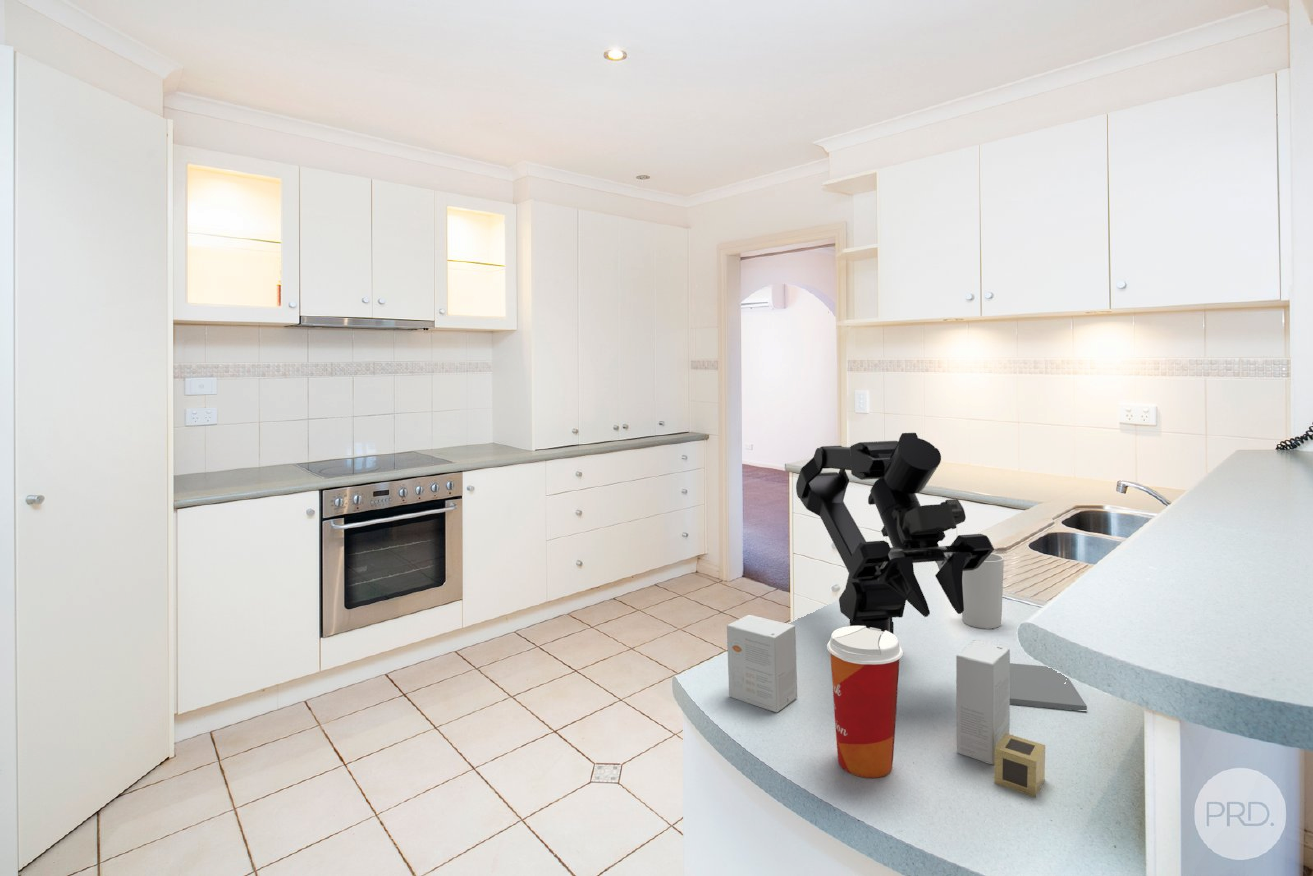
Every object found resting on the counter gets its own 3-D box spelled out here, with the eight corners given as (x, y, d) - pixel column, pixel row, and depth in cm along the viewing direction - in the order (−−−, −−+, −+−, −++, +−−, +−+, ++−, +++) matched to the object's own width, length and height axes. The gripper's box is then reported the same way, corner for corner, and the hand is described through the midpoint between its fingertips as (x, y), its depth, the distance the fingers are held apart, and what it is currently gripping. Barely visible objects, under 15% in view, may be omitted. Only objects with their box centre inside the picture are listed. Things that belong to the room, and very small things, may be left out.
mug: (1006, 631, 115) (1007, 562, 114) (963, 628, 117) (963, 560, 116) (996, 611, 125) (996, 548, 124) (956, 608, 127) (957, 546, 126)
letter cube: (1035, 798, 70) (1036, 761, 70) (994, 783, 73) (994, 748, 73) (1044, 780, 73) (1045, 745, 73) (1004, 766, 76) (1005, 733, 76)
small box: (798, 698, 93) (797, 625, 93) (776, 714, 89) (775, 637, 88) (750, 682, 99) (748, 613, 98) (727, 697, 95) (726, 624, 94)
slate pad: (1086, 712, 87) (1086, 706, 87) (985, 701, 91) (985, 695, 91) (1061, 672, 99) (1061, 667, 99) (972, 665, 102) (972, 659, 102)
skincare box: (972, 732, 83) (973, 638, 82) (1010, 744, 80) (1011, 647, 79) (954, 753, 79) (955, 654, 78) (993, 766, 76) (994, 664, 75)
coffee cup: (845, 736, 83) (844, 618, 82) (913, 758, 78) (913, 633, 77) (815, 768, 77) (813, 640, 76) (886, 794, 72) (886, 658, 70)
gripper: (856, 482, 89) (898, 589, 79) (986, 475, 92) (1042, 578, 82) (833, 528, 97) (868, 630, 87) (952, 520, 100) (999, 618, 90)
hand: (944, 614), depth 87 cm, fingers open, 4 cm apart
